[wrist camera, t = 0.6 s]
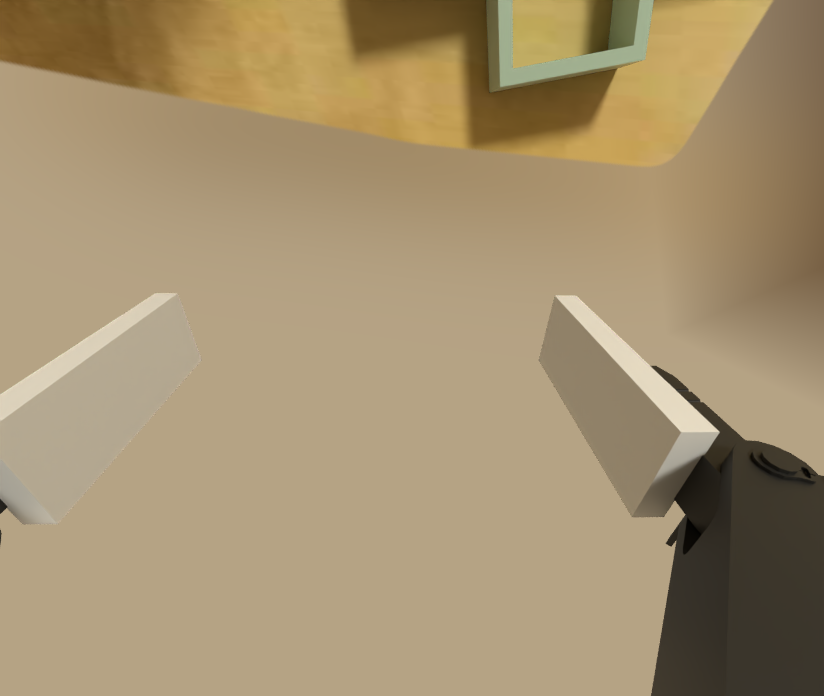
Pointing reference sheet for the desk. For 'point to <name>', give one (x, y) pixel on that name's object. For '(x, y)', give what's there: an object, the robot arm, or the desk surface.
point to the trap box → (623, 50)
